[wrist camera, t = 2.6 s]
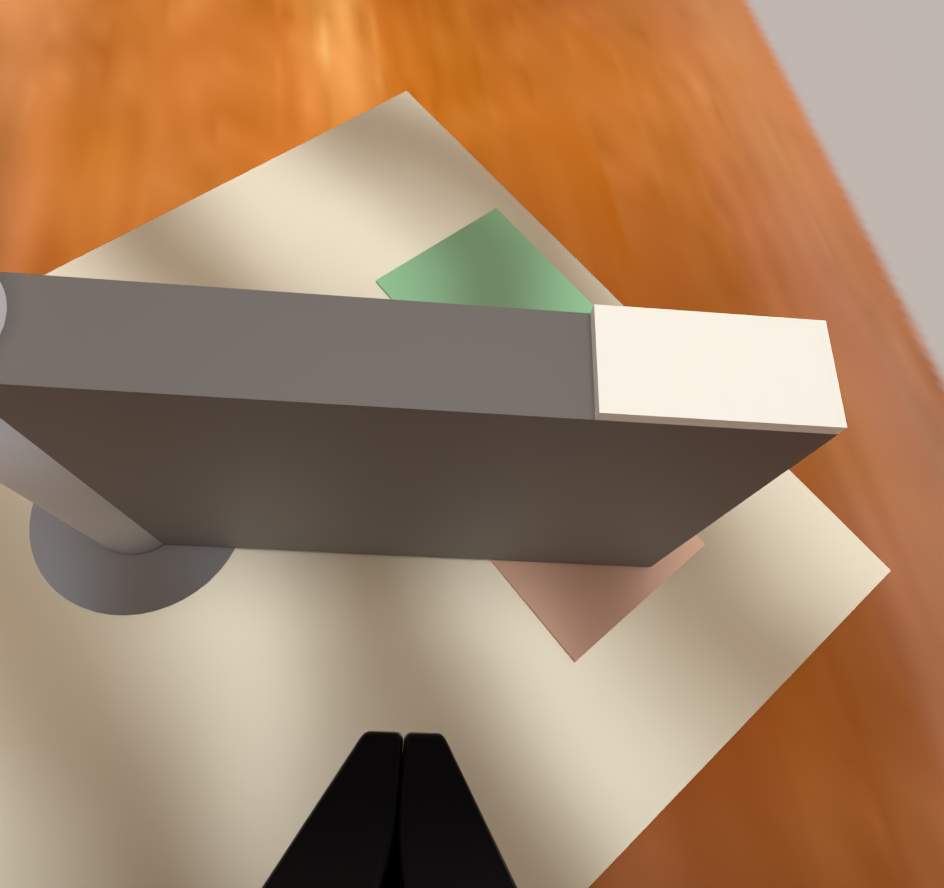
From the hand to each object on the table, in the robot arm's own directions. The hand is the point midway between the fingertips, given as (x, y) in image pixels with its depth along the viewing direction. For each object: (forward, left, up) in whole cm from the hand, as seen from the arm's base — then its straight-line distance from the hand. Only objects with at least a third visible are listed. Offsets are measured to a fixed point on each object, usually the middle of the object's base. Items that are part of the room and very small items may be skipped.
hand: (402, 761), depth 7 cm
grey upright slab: (+2, +4, -6) cm, 8 cm away
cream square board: (+2, +5, -7) cm, 9 cm away
